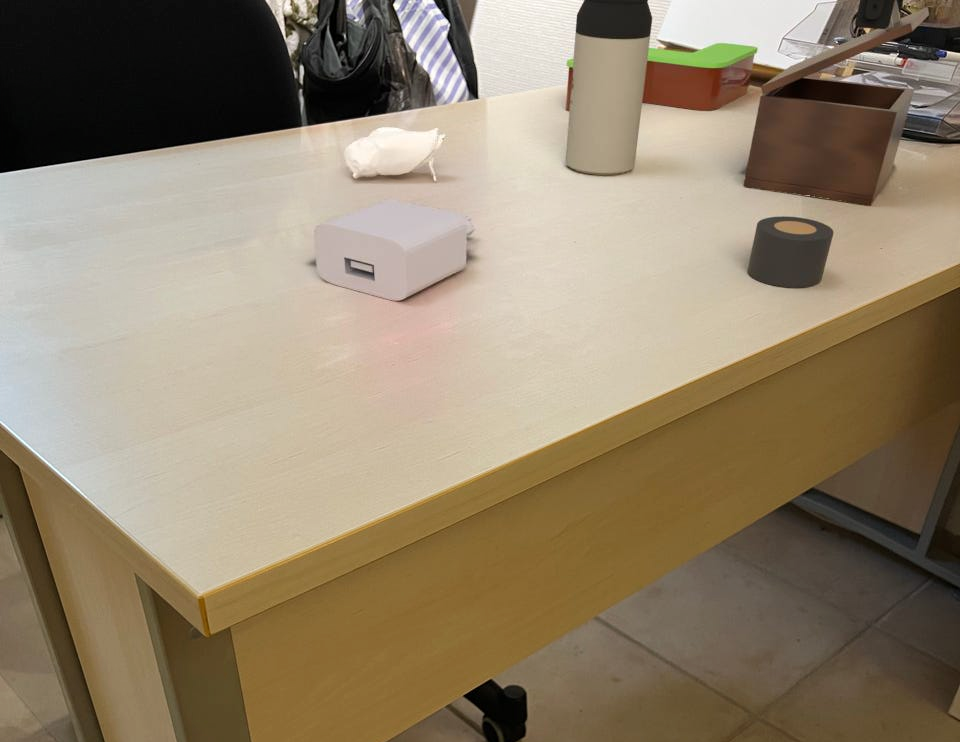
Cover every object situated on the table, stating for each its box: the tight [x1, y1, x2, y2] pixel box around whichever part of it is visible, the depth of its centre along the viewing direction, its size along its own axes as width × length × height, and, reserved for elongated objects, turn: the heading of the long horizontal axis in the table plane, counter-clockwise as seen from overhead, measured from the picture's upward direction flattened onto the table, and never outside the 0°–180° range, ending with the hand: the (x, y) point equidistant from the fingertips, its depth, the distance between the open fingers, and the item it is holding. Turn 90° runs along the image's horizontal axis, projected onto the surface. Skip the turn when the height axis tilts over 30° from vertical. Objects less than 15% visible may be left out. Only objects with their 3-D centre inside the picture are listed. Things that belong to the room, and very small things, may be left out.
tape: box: [747, 216, 835, 289], centre depth 82 cm, size 6×6×4 cm
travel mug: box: [565, 0, 653, 176], centre depth 103 cm, size 8×8×18 cm
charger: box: [313, 198, 476, 301], centre depth 81 cm, size 5×9×15 cm
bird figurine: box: [343, 126, 446, 182], centre depth 102 cm, size 5×7×10 cm
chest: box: [743, 76, 915, 207], centre depth 104 cm, size 14×14×9 cm
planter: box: [565, 42, 758, 112], centre depth 137 cm, size 30×18×6 cm, turn 150°
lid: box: [760, 0, 930, 95], centre depth 98 cm, size 15×14×6 cm
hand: (877, 22), depth 96 cm, fingers closed on lid, 6 cm apart
